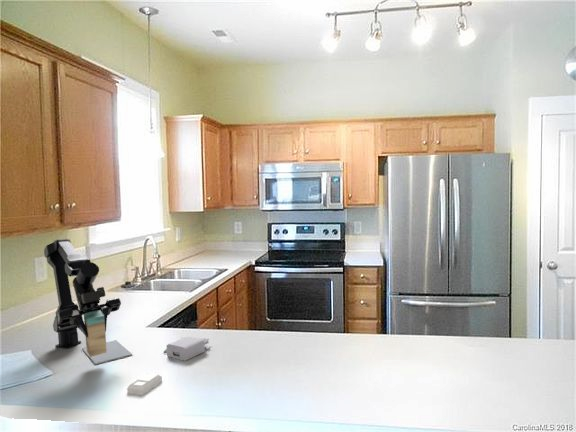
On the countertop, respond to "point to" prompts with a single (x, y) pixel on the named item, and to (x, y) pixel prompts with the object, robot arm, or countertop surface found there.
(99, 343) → the oak block
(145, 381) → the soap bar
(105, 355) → the mat
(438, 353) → the countertop surface
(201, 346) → the charger
